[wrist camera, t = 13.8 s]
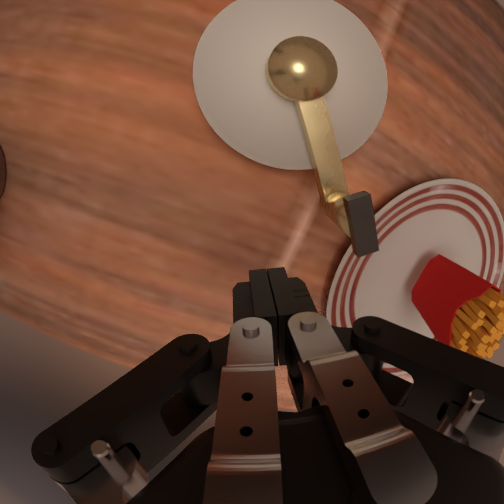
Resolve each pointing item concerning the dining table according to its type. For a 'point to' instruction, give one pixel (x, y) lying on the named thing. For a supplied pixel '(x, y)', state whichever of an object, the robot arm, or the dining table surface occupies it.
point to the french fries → (459, 307)
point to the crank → (322, 134)
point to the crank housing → (261, 94)
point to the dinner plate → (418, 253)
